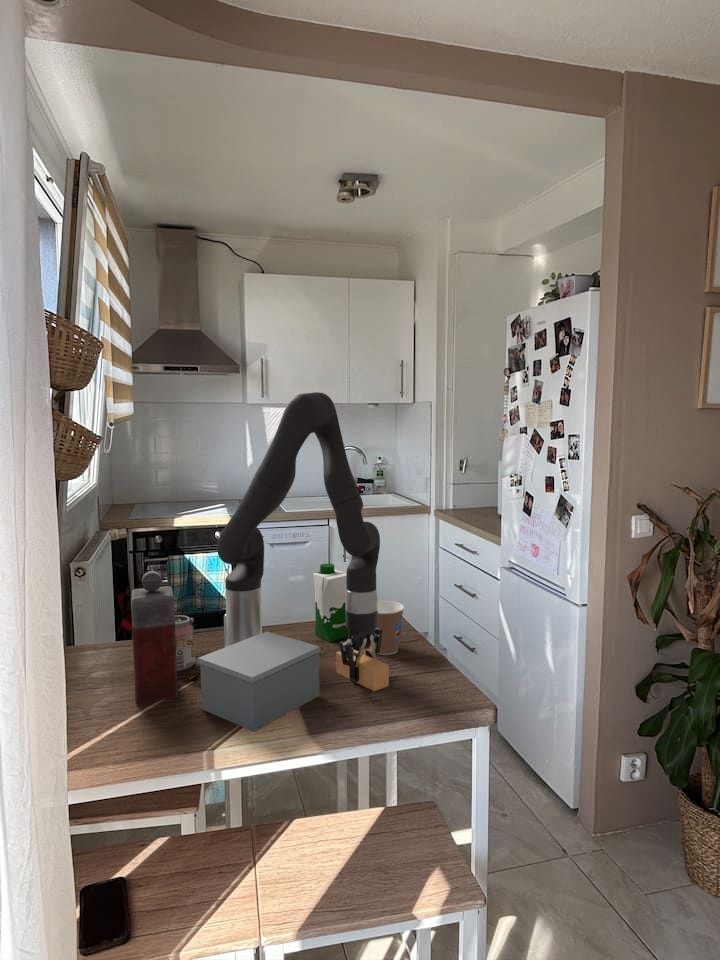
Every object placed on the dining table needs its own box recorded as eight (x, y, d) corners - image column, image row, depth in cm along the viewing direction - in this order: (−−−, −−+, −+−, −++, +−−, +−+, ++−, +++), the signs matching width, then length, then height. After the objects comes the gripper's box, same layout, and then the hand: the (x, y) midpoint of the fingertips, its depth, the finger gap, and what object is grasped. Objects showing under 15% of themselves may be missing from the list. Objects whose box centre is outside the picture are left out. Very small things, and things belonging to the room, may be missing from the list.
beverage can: (159, 660, 166) (157, 615, 165) (193, 656, 169) (191, 611, 168) (161, 674, 158) (159, 626, 156) (197, 669, 161) (195, 622, 159)
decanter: (175, 677, 156) (171, 563, 153) (177, 697, 145) (173, 574, 142) (136, 682, 153) (130, 566, 150) (135, 703, 143) (129, 578, 139)
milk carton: (335, 628, 190) (334, 561, 187) (354, 636, 183) (354, 567, 180) (310, 635, 184) (309, 566, 182) (329, 644, 177) (328, 572, 175)
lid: (198, 663, 138) (197, 657, 138) (266, 636, 154) (266, 631, 154) (252, 683, 128) (252, 677, 128) (319, 651, 144) (319, 646, 144)
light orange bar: (336, 672, 159) (335, 652, 158) (350, 667, 162) (350, 648, 161) (374, 691, 148) (374, 670, 147) (388, 685, 151) (388, 665, 150)
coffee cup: (405, 657, 167) (405, 612, 166) (365, 657, 168) (364, 612, 166) (403, 643, 178) (403, 600, 176) (365, 643, 178) (365, 600, 176)
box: (201, 709, 140) (200, 664, 138) (268, 678, 155) (267, 637, 154) (253, 731, 130) (252, 683, 129) (319, 695, 146) (318, 652, 145)
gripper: (355, 618, 145) (355, 691, 147) (392, 602, 156) (392, 671, 158) (329, 612, 149) (330, 683, 151) (367, 597, 161) (367, 663, 163)
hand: (362, 676), depth 155 cm, fingers closed on light orange bar, 5 cm apart
